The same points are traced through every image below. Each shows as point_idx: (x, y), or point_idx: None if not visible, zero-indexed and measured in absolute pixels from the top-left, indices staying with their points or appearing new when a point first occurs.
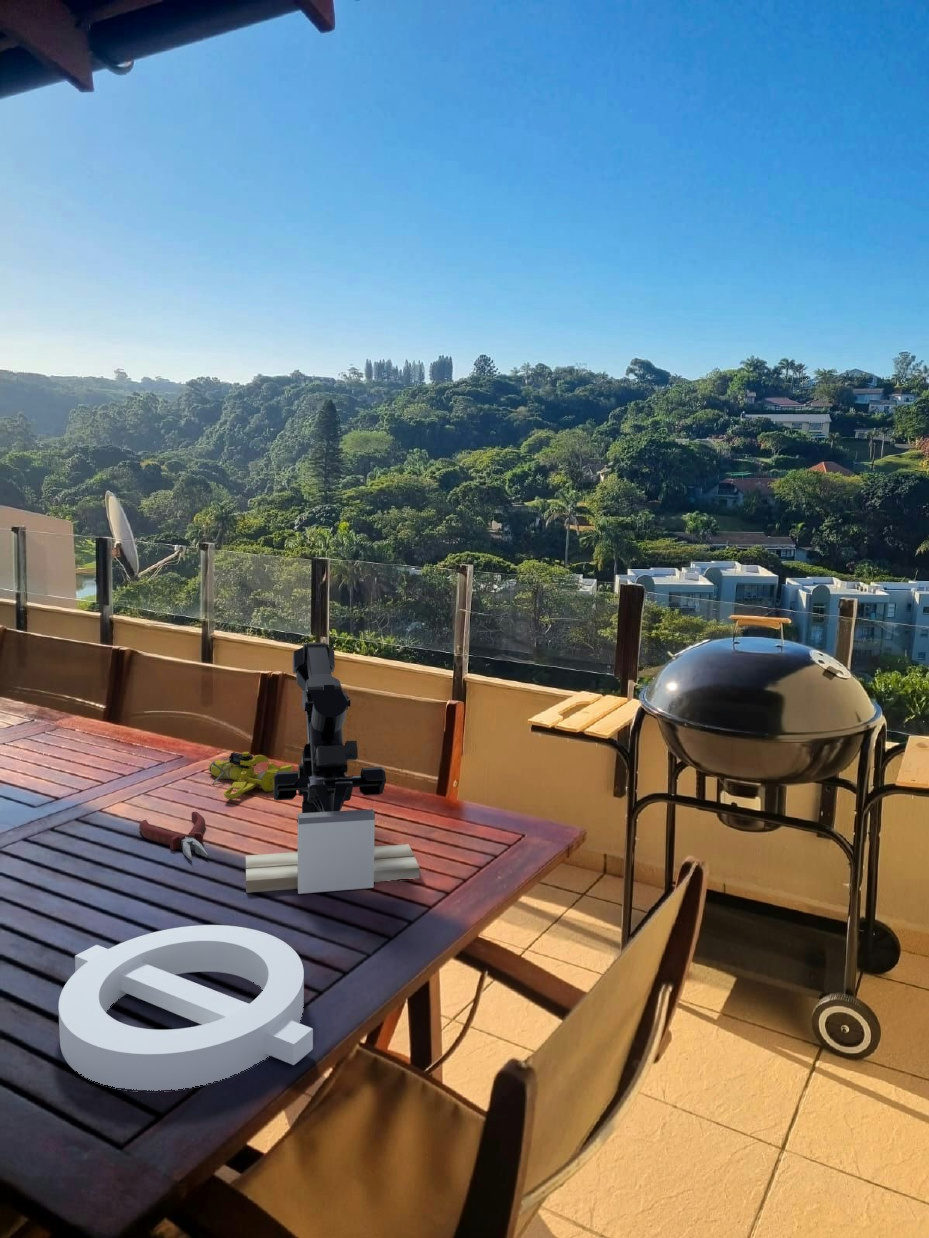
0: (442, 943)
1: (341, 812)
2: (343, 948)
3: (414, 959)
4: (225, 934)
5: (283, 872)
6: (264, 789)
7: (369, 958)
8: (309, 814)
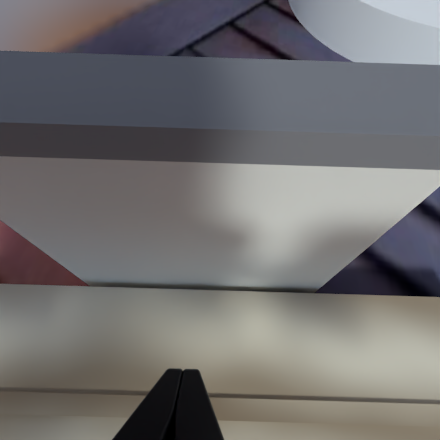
0: (68, 52)
1: (140, 98)
2: None
3: (128, 30)
4: (435, 9)
5: (371, 338)
6: None
7: (190, 41)
8: (394, 109)
